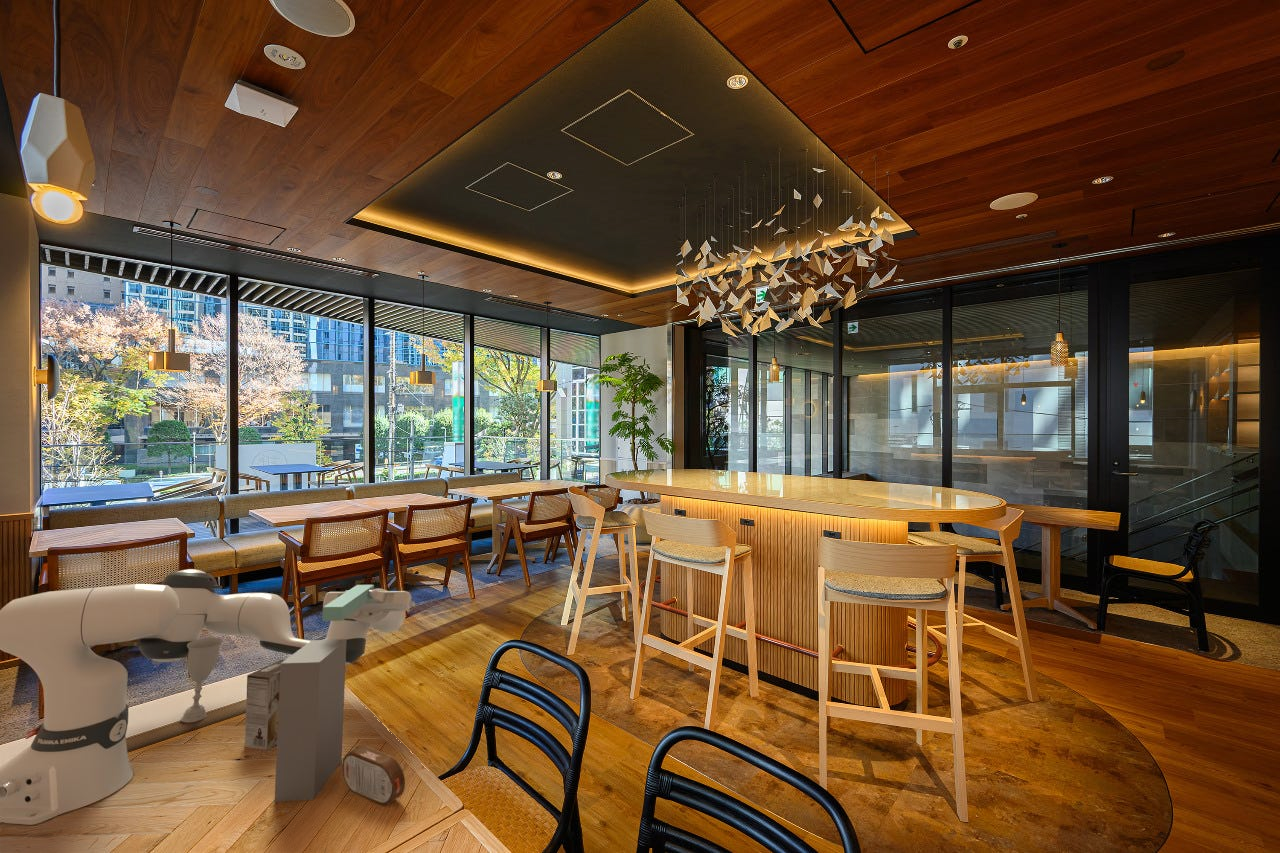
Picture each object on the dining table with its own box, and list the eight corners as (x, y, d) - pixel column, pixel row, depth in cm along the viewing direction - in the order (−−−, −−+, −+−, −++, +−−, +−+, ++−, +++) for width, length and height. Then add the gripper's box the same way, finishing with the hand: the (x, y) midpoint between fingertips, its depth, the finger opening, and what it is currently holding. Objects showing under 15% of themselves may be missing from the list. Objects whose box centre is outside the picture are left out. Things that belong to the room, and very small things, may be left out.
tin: (405, 803, 99) (407, 758, 100) (391, 813, 96) (393, 767, 97) (352, 780, 106) (354, 738, 106) (338, 790, 103) (339, 746, 103)
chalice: (194, 726, 124) (206, 649, 126) (166, 723, 124) (178, 646, 126) (219, 711, 132) (230, 639, 133) (193, 708, 132) (204, 636, 133)
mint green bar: (322, 621, 112) (322, 607, 113) (356, 597, 130) (357, 584, 130) (341, 620, 113) (342, 606, 113) (373, 596, 131) (373, 584, 131)
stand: (274, 802, 99) (280, 663, 100) (306, 763, 111) (312, 640, 112) (313, 799, 100) (319, 662, 101) (341, 761, 112) (346, 639, 113)
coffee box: (279, 726, 125) (282, 658, 126) (301, 729, 124) (304, 661, 125) (242, 747, 116) (246, 674, 117) (266, 751, 115) (270, 677, 116)
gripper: (415, 618, 138) (401, 605, 127) (333, 619, 136) (311, 607, 124) (419, 594, 141) (406, 580, 130) (339, 595, 139) (318, 580, 127)
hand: (359, 593), depth 127 cm, fingers closed on mint green bar, 4 cm apart
